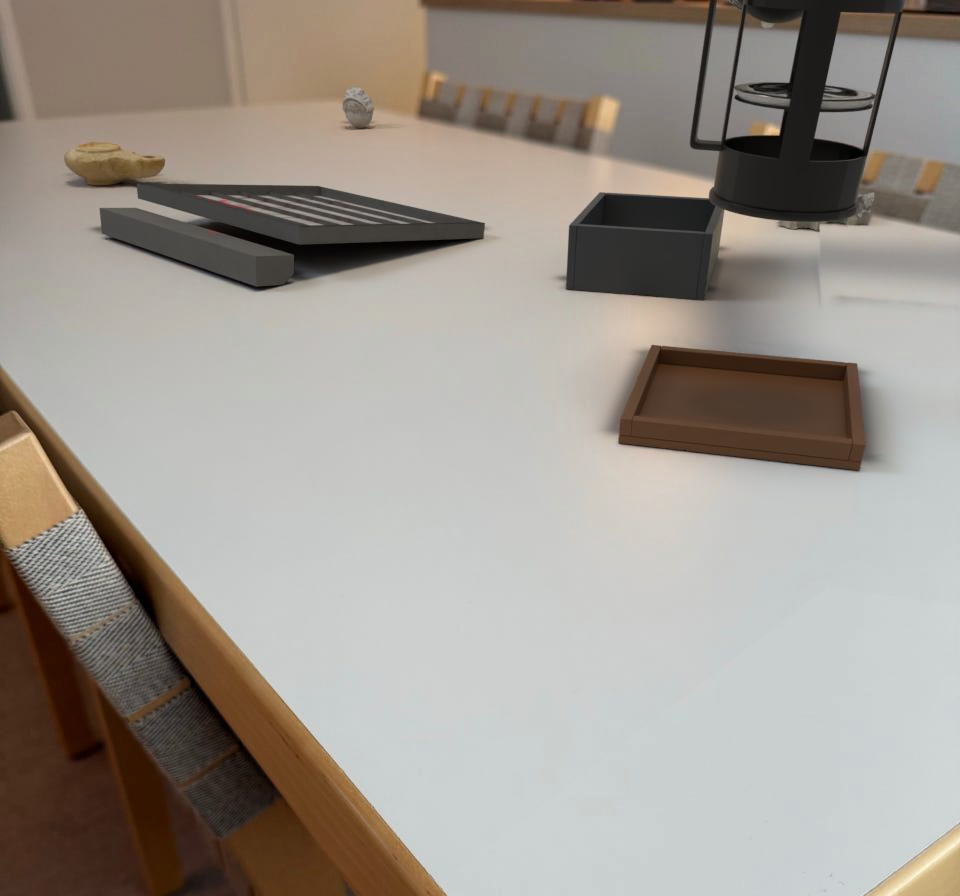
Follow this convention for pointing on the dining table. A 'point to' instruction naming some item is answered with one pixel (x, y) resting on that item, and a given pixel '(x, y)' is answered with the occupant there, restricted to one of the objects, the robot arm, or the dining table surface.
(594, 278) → the holder
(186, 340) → the dining table surface
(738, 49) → the french press
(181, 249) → the dark grey wedge stand
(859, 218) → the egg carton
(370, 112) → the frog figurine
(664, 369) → the tray
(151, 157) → the oil lamp
